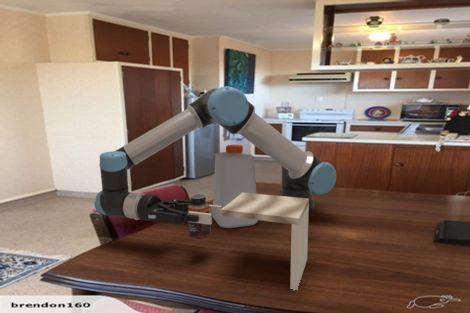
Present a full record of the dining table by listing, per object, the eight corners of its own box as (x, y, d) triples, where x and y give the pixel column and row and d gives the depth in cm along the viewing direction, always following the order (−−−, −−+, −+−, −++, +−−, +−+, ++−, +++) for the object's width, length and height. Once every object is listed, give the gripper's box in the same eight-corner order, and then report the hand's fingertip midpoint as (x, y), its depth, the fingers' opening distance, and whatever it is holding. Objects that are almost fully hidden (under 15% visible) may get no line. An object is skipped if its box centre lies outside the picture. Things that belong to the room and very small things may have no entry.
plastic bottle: (210, 216, 125) (208, 144, 121) (247, 212, 130) (246, 142, 125) (220, 230, 111) (219, 149, 106) (261, 225, 116) (262, 147, 111)
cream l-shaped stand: (222, 276, 82) (220, 209, 79) (242, 249, 96) (242, 192, 94) (297, 290, 75) (298, 218, 72) (307, 259, 90) (308, 198, 87)
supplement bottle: (214, 232, 92) (212, 194, 90) (205, 241, 86) (203, 200, 84) (194, 230, 94) (193, 192, 92) (185, 238, 88) (183, 198, 86)
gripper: (162, 209, 104) (229, 216, 96) (123, 231, 87) (201, 242, 79) (161, 186, 103) (229, 192, 95) (120, 204, 86) (200, 212, 78)
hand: (216, 214), depth 87 cm, fingers closed on supplement bottle, 6 cm apart
